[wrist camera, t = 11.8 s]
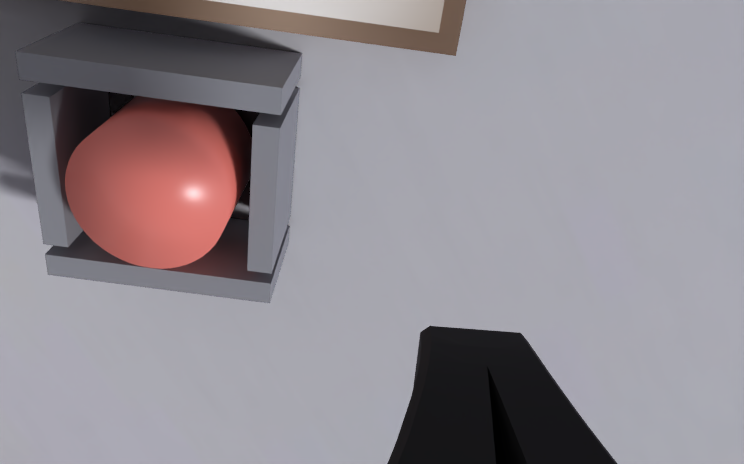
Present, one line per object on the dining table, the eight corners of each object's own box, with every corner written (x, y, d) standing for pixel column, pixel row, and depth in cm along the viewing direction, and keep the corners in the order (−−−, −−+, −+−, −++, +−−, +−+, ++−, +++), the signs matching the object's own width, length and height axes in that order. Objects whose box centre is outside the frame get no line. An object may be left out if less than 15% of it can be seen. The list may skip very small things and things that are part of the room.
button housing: (302, 53, 16) (282, 88, 13) (288, 243, 19) (269, 303, 16) (79, 22, 16) (14, 51, 13) (97, 218, 19) (48, 274, 16)
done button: (256, 93, 16) (228, 135, 13) (251, 218, 18) (225, 277, 15) (113, 73, 16) (56, 112, 13) (122, 201, 18) (73, 258, 15)
